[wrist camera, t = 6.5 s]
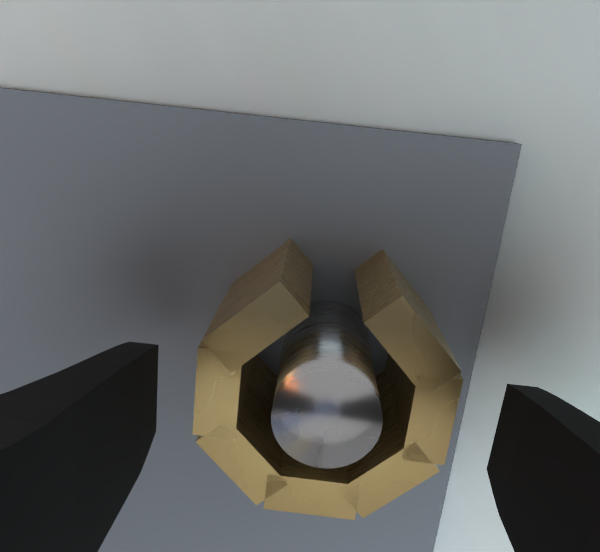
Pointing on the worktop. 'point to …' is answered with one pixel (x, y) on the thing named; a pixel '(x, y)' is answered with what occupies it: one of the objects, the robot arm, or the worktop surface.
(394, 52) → the worktop surface
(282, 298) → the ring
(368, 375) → the piston post
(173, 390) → the mat
